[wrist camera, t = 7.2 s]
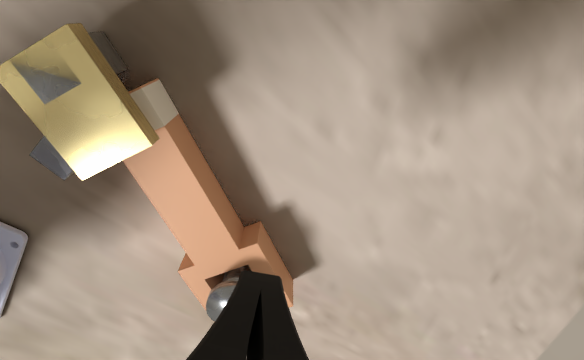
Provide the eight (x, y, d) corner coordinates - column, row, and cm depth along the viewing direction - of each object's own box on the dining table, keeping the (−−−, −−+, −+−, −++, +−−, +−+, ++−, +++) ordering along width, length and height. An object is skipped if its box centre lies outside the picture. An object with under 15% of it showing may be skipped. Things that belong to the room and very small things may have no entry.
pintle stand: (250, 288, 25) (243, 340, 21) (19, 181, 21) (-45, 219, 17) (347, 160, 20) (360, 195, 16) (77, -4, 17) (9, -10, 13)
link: (292, 280, 24) (293, 306, 22) (225, 302, 25) (219, 329, 23) (177, 68, 18) (161, 76, 16) (93, 108, 19) (67, 120, 17)
